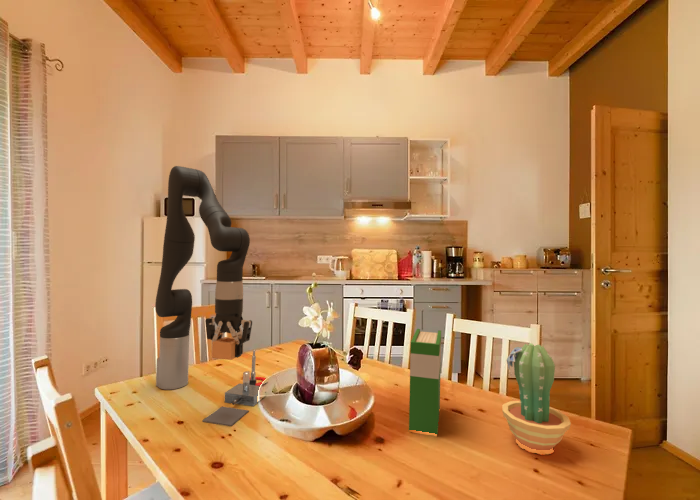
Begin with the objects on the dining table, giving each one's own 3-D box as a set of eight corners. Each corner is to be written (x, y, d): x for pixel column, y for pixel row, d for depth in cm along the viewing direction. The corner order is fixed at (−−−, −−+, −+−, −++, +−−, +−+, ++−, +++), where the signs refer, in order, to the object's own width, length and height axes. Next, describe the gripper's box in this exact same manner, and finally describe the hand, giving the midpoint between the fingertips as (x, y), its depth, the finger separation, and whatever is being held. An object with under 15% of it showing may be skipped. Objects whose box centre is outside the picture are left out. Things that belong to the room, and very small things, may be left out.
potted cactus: (530, 425, 97) (532, 336, 97) (585, 456, 82) (587, 351, 83) (487, 435, 91) (489, 340, 92) (538, 469, 77) (540, 357, 77)
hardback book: (415, 404, 109) (417, 328, 109) (439, 408, 107) (441, 330, 107) (408, 432, 92) (410, 341, 92) (437, 437, 90) (439, 344, 90)
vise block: (218, 406, 105) (219, 378, 105) (238, 392, 115) (239, 366, 115) (248, 410, 102) (249, 381, 102) (266, 396, 113) (266, 370, 113)
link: (211, 357, 96) (212, 341, 96) (224, 352, 102) (225, 336, 102) (230, 359, 95) (231, 343, 95) (242, 353, 101) (243, 338, 101)
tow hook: (246, 379, 128) (239, 388, 119) (248, 344, 129) (241, 350, 120) (269, 380, 128) (264, 388, 119) (271, 344, 129) (265, 350, 120)
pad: (202, 421, 95) (202, 420, 95) (222, 407, 104) (222, 406, 104) (231, 426, 93) (231, 424, 93) (248, 411, 101) (248, 410, 101)
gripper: (198, 297, 97) (197, 357, 97) (244, 299, 93) (243, 362, 93) (215, 294, 104) (214, 350, 104) (258, 296, 100) (257, 354, 100)
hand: (227, 355), depth 98 cm, fingers closed on link, 6 cm apart
